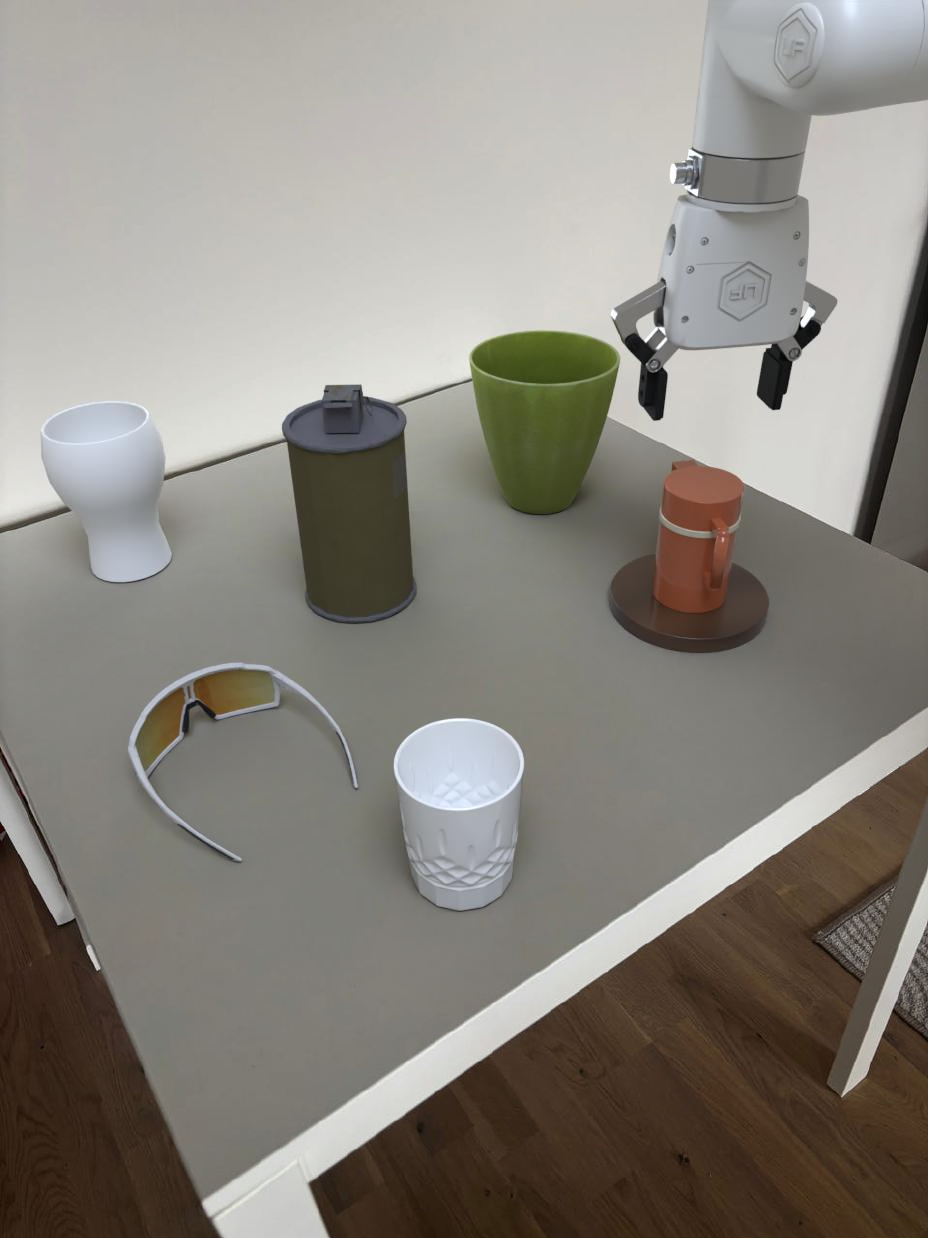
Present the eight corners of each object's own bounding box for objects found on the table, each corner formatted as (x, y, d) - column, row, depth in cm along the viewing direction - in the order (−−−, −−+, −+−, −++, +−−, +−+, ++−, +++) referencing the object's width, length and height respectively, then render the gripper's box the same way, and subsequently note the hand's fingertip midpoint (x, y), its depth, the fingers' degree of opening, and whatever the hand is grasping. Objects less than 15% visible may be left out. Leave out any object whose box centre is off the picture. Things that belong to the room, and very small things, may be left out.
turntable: (800, 623, 86) (803, 609, 85) (672, 671, 81) (674, 657, 80) (699, 550, 96) (700, 537, 95) (580, 589, 91) (580, 576, 90)
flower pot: (533, 454, 114) (536, 319, 105) (637, 495, 105) (650, 352, 96) (443, 500, 105) (438, 357, 96) (548, 548, 97) (553, 397, 87)
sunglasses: (266, 679, 81) (262, 636, 77) (380, 792, 73) (381, 749, 70) (107, 763, 73) (96, 718, 70) (215, 898, 65) (208, 856, 62)
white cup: (386, 847, 66) (375, 739, 60) (491, 811, 69) (491, 704, 63) (429, 937, 60) (421, 826, 54) (542, 894, 63) (546, 784, 57)
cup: (193, 578, 94) (161, 435, 85) (78, 601, 91) (33, 455, 82) (180, 526, 102) (150, 391, 93) (74, 546, 99) (33, 408, 90)
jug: (748, 623, 84) (769, 511, 77) (673, 632, 83) (687, 520, 76) (705, 559, 92) (720, 453, 85) (635, 566, 91) (646, 460, 85)
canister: (413, 623, 87) (400, 415, 75) (297, 624, 87) (266, 417, 76) (419, 558, 96) (408, 363, 84) (314, 560, 96) (289, 365, 84)
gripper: (639, 197, 63) (619, 438, 73) (888, 182, 65) (834, 419, 75) (607, 172, 69) (592, 398, 79) (835, 159, 71) (792, 381, 81)
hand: (710, 408), depth 77 cm, fingers open, 9 cm apart
